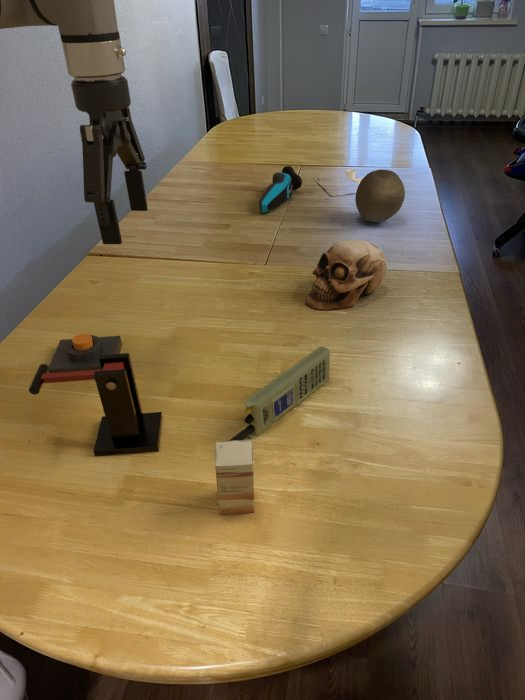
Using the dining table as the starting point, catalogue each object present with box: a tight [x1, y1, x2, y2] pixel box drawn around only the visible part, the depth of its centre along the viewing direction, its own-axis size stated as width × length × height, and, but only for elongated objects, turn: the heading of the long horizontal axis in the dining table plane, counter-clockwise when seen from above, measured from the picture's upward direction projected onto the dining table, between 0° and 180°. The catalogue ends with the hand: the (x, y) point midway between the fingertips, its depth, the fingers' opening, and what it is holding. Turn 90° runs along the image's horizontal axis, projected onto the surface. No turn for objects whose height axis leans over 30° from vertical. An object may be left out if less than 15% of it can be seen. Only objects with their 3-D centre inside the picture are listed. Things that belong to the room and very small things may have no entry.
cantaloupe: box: [354, 168, 406, 223], centre depth 150 cm, size 14×14×15 cm
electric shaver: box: [258, 165, 303, 214], centre depth 169 cm, size 9×26×10 cm
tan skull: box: [304, 239, 388, 311], centre depth 117 cm, size 16×17×13 cm
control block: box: [48, 334, 123, 373], centre depth 101 cm, size 12×10×4 cm
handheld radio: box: [228, 346, 331, 441], centre depth 86 cm, size 7×3×25 cm
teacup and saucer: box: [345, 168, 362, 183], centre depth 184 cm, size 9×8×4 cm
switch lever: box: [28, 362, 125, 396], centre depth 77 cm, size 13×6×2 cm, turn 95°
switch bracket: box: [92, 352, 163, 457], centre depth 80 cm, size 10×8×15 cm
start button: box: [71, 333, 93, 351], centre depth 99 cm, size 4×4×2 cm
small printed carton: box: [214, 439, 255, 515], centre depth 70 cm, size 5×4×10 cm
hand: (127, 225), depth 83 cm, fingers open, 13 cm apart
